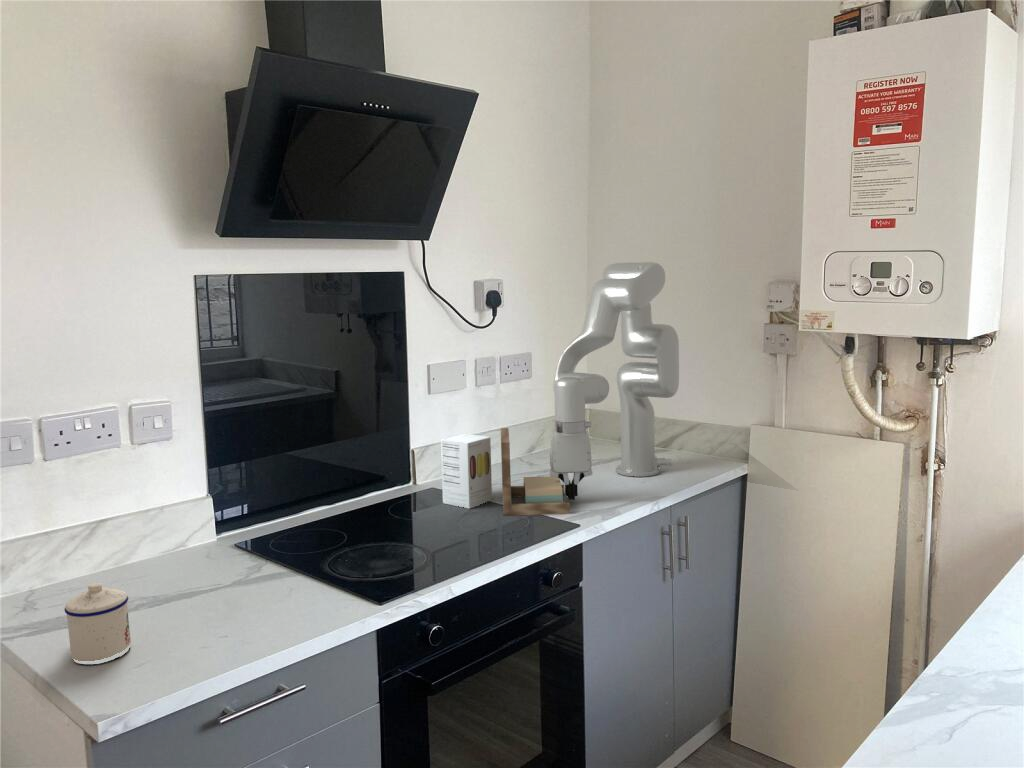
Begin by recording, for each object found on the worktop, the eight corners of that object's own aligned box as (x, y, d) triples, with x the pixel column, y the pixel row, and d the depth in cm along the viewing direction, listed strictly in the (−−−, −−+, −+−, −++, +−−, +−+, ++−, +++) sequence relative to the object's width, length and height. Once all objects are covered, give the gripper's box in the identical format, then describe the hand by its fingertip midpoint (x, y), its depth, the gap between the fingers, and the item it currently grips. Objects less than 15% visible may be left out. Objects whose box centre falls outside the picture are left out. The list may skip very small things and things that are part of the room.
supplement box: (469, 509, 206) (467, 443, 204) (441, 504, 212) (439, 439, 209) (493, 500, 214) (491, 436, 211) (466, 495, 219) (463, 432, 217)
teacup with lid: (142, 652, 133) (135, 583, 132) (82, 673, 127) (74, 600, 125) (113, 630, 142) (106, 565, 140) (55, 649, 135) (47, 581, 134)
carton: (559, 498, 215) (558, 476, 214) (562, 512, 203) (562, 488, 202) (523, 499, 214) (523, 477, 214) (525, 513, 203) (525, 489, 202)
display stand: (563, 493, 218) (562, 426, 215) (569, 513, 200) (568, 440, 198) (502, 495, 217) (500, 428, 215) (503, 515, 200) (501, 442, 198)
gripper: (598, 423, 210) (599, 493, 213) (539, 425, 210) (540, 495, 212) (602, 429, 203) (603, 502, 205) (541, 431, 202) (542, 504, 205)
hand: (571, 498), depth 209 cm, fingers closed
